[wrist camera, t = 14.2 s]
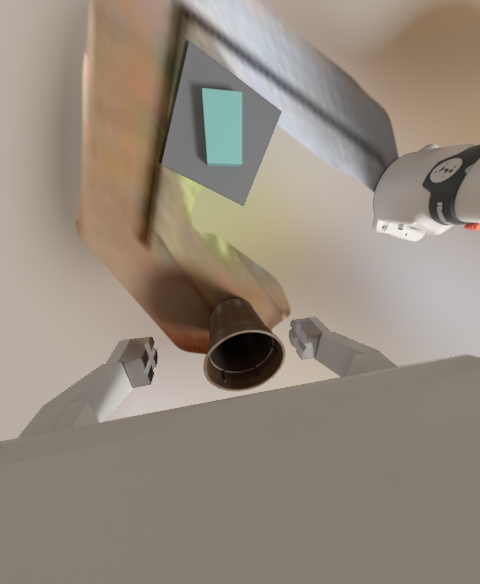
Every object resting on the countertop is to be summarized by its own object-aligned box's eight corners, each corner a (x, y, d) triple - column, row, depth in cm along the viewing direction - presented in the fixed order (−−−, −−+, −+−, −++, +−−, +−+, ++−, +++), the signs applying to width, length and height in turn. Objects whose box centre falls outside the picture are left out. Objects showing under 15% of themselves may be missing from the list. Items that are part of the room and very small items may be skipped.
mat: (280, 113, 31) (281, 111, 30) (243, 205, 36) (243, 205, 36) (189, 43, 26) (189, 40, 25) (162, 164, 31) (161, 164, 30)
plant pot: (273, 309, 50) (301, 352, 35) (238, 347, 54) (250, 399, 39) (228, 278, 43) (240, 315, 29) (191, 325, 47) (186, 377, 33)
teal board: (242, 164, 31) (242, 91, 27) (207, 163, 30) (202, 88, 26) (239, 166, 33) (239, 99, 29) (207, 165, 32) (202, 96, 28)
